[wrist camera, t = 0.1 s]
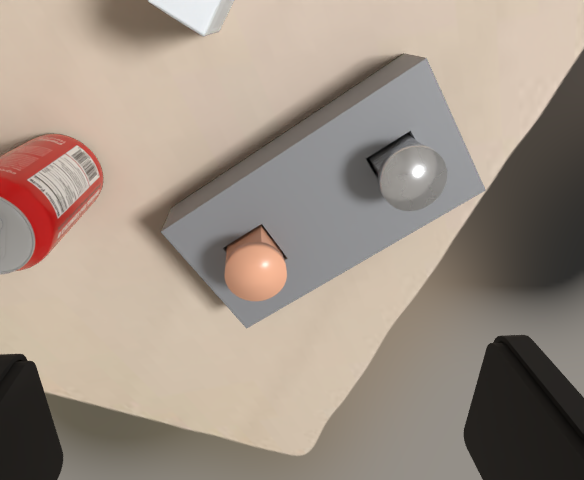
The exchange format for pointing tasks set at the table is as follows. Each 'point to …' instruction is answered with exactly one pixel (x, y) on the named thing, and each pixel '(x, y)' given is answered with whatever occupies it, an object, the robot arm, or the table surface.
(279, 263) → the peach dome knob
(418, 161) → the grey plunger
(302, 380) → the table surface
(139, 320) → the table surface
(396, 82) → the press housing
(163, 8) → the skincare box
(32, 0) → the table surface
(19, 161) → the soda can
